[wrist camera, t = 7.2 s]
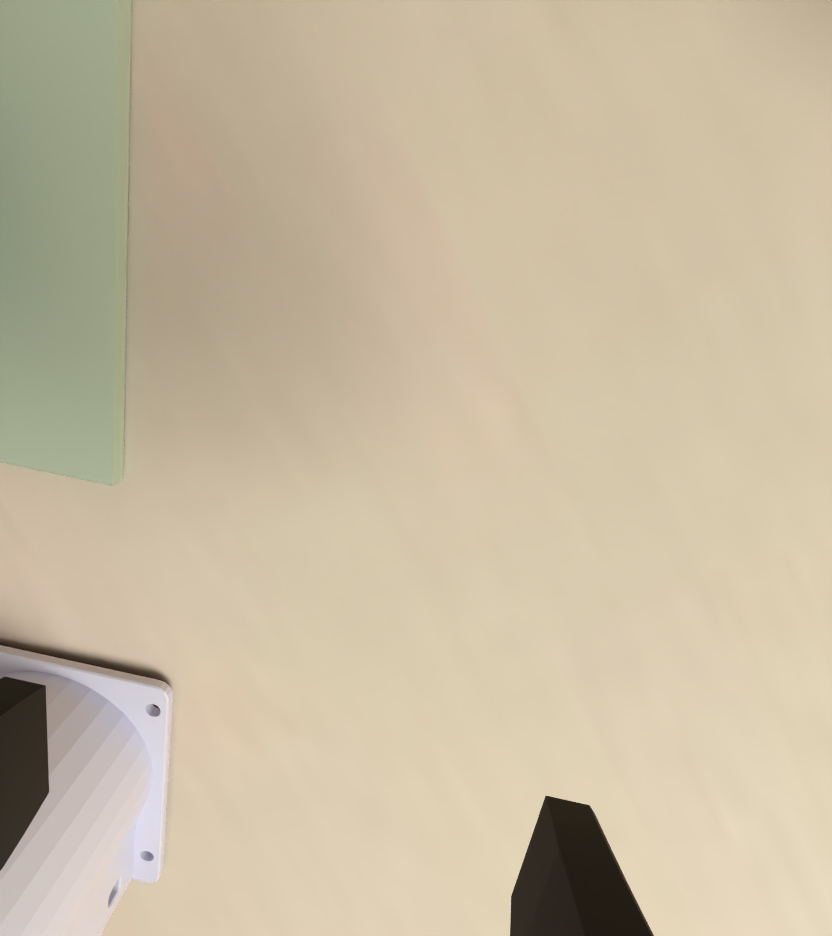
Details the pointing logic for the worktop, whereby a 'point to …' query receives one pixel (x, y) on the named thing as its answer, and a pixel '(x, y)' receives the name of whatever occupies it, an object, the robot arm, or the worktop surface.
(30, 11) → the baseplate
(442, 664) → the worktop surface
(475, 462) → the worktop surface
